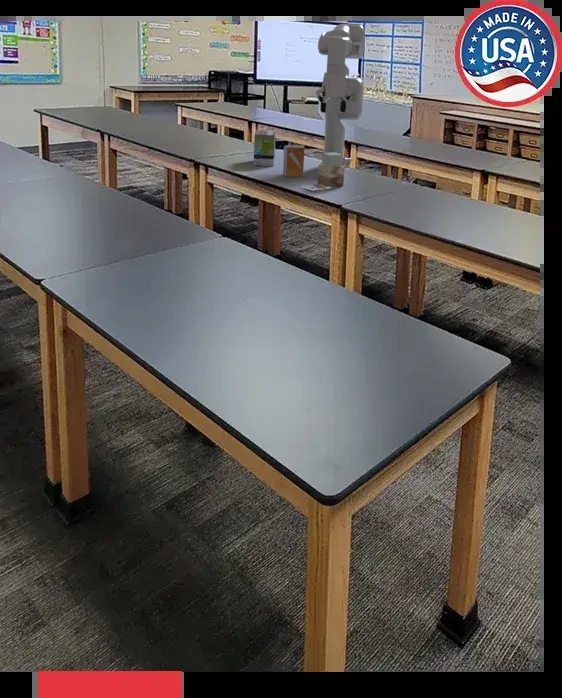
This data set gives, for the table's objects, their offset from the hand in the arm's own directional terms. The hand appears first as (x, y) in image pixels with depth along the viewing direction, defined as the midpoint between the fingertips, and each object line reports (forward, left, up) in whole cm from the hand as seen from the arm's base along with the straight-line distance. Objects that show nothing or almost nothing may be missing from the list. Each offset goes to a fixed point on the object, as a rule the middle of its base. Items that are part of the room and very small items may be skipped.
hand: (332, 112), depth 292 cm
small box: (+13, -10, -28) cm, 33 cm away
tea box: (+13, -41, -29) cm, 52 cm away
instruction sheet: (+15, +16, -28) cm, 36 cm away
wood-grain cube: (+6, +12, -28) cm, 31 cm away
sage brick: (+6, +12, -20) cm, 24 cm away
